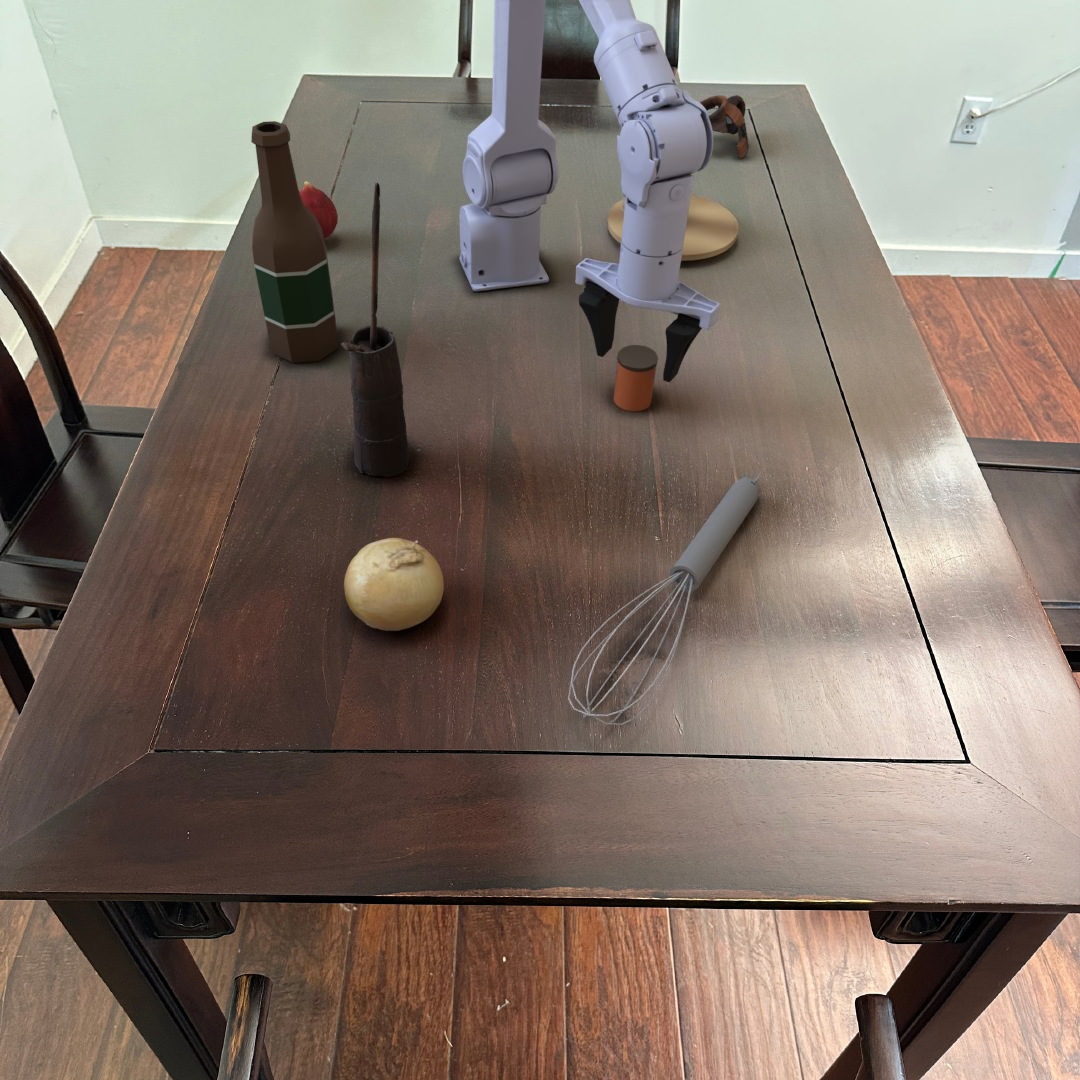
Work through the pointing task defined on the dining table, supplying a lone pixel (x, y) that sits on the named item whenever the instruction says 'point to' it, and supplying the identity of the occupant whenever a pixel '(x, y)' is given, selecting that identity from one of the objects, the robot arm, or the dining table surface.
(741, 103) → the brown curled loops
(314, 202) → the onion
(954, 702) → the dining table surface
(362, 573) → the onion
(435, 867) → the dining table surface
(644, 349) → the spice jar
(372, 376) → the butter churn
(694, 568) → the kitchen whisk
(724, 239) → the spice carousel
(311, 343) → the beer bottle
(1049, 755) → the dining table surface
